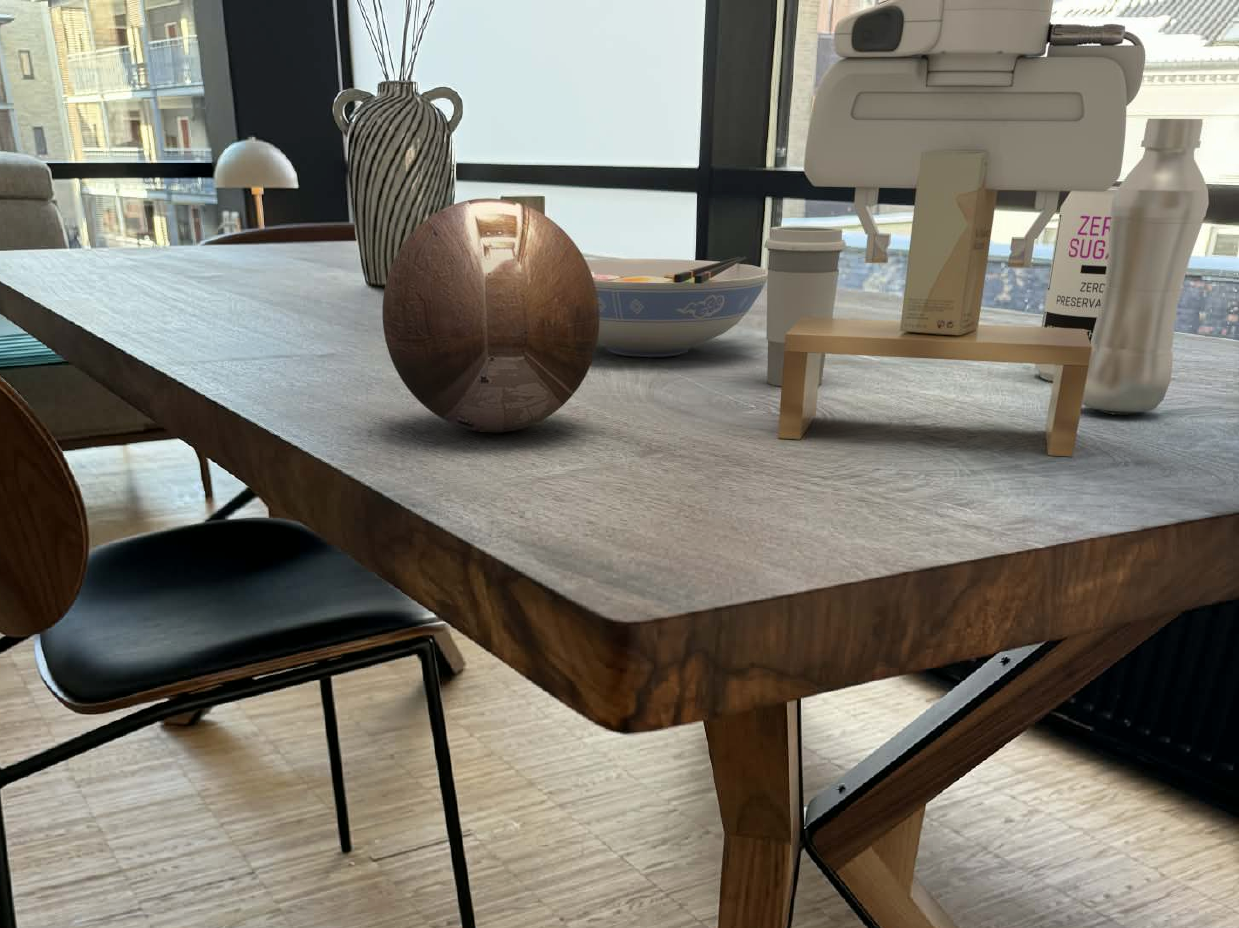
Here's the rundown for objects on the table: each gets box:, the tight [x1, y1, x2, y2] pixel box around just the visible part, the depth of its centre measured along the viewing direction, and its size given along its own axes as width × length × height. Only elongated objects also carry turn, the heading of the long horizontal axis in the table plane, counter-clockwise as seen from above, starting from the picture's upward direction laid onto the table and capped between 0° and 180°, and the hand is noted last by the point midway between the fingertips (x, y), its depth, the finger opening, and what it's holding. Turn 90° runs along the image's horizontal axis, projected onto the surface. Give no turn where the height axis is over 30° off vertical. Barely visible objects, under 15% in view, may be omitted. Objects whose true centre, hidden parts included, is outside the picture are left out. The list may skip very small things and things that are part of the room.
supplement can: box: [1034, 186, 1119, 382], centre depth 115 cm, size 8×8×15 cm
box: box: [900, 151, 998, 335], centre depth 91 cm, size 5×4×11 cm
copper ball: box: [381, 197, 600, 434], centre depth 94 cm, size 15×15×15 cm
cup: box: [763, 225, 847, 387], centre depth 113 cm, size 7×7×12 cm
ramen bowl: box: [585, 256, 768, 358], centre depth 128 cm, size 25×23×8 cm
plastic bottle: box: [1082, 118, 1209, 415], centre depth 100 cm, size 6×7×20 cm
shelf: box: [777, 317, 1092, 458], centre depth 95 cm, size 20×9×7 cm, turn 75°
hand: (946, 264), depth 92 cm, fingers open, 8 cm apart
